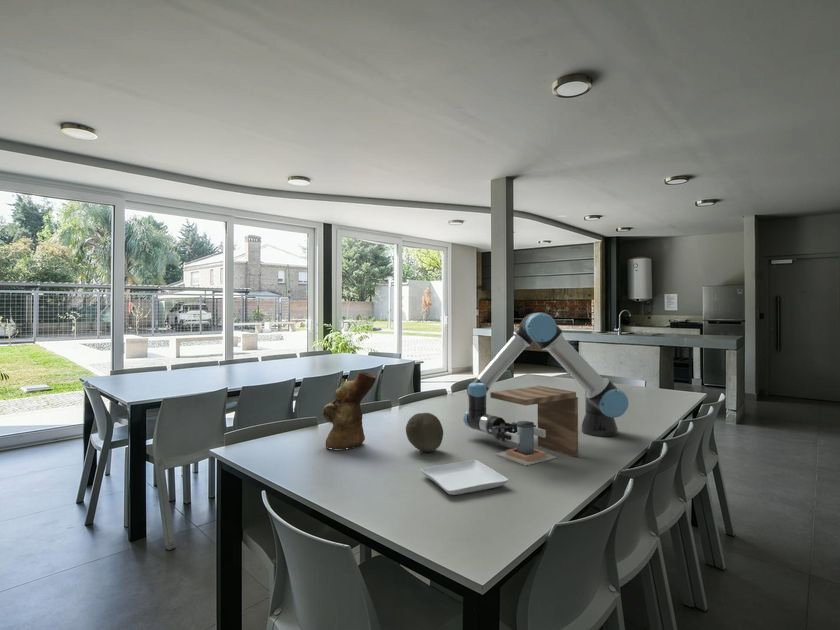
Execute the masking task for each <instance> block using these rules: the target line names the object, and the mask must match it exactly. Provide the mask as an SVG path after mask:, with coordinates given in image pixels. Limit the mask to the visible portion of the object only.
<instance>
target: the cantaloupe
mask: <svg viewBox="0 0 840 630" xmlns="http://www.w3.org/2000/svg"><path fill="white" fill-rule="evenodd" d="M405 434H406V438H407V440H408V441H409V443H410V444H411V446H413V447H414V448H416V449H417V450H418V451H421V452H423V453H424V452H425V453H432V452H433V451H436V450H437V449H438V448H439V447H440V446H441V444H442V442H443V438H444V428H443V425H442V423H441V421H440V419H439V418H438V417H437V416H436V415H434V414H433V413H430V412H419V413H415V414H413V415H412V416H411V417H410V418H409V419H408V421H407V423H406V425H405Z"/></svg>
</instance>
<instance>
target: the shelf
mask: <svg viewBox="0 0 840 630" xmlns="http://www.w3.org/2000/svg"><path fill="white" fill-rule="evenodd" d="M489 395H490V399H494V400H495V399H496V400H500V401H503V402H508V403H512V404H517V405H522V406H525V407H526V406H533V405H537V428H539V429H543V430H546V437H545V438H543V437H540V436H537V446H538V447H541V448H544V449H548V450H551V451H553V450H554V452H557V453H561V454H564V455H566V454H567V456H569V455H570V457H573V458H577V457H579V397H578V396H577V392H576V391H571V390H566V389H559V388H554V387H548V386H541V385H535V386H529V387H521V388H514V389H513V388H512V389H505V390H498V391H490V394H489ZM576 456H577V457H576Z"/></svg>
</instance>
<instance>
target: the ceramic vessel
mask: <svg viewBox="0 0 840 630" xmlns="http://www.w3.org/2000/svg"><path fill="white" fill-rule="evenodd" d="M376 380H377V377H376V376H374V375H372V374H370V373H368V372H365V371H362V370H361V371H360V370H359V371H358V372H357V374H356V376H355V378H354V379H353V380H345V378H342V379H341V380H340V381H341V382H340V386H339V387H338V388H337V389H336V390H335V392H334V394H335V397H334V398H335V399H333V400H332V401H331V402H330V403H328V404H326V405H324V407H323V410H322V416H323V418H324V419H325V421H327V422H328V423H331V424H332V428H331V430H330V431H329V432H328V435H327V437H326V440H325V448H327V447H328V448H332V449H346V448H352V449H354V448H353V447H355V448H357V447H359V446H361V445H362V444H363V443H364V442H365V440H366V436H365V432H364V428H363V427H364V425H363V410H362V408H361V402H362V400H363V399H364V398H365V396H367V394H368V393H369V392H370V390H371V389H372V388H373V387H374V385H375V382H376ZM338 403H339V404H338ZM356 446H357V447H356ZM328 448H327V449H328Z"/></svg>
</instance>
